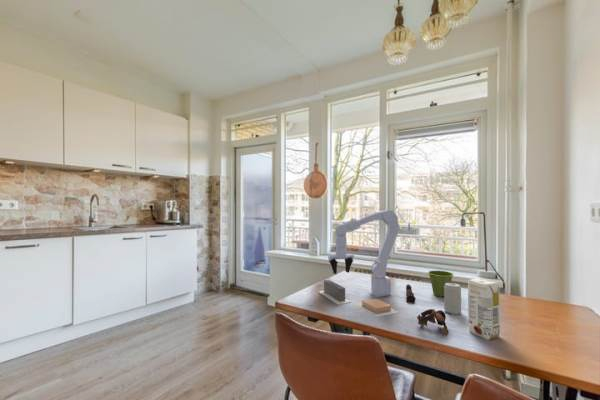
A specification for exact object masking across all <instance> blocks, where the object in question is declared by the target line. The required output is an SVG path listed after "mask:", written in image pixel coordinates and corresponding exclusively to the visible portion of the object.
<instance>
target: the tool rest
mask: <svg viewBox="0 0 600 400" xmlns="http://www.w3.org/2000/svg"><path fill="white" fill-rule="evenodd" d="M318 294H320V295H322V296H324V297H326V298H327V299H328V300H330V301H332V302H333V303H335V304H337V305H345V304H350V303H352V300H349V299H348V298H346V297H345V301H341V302H339V301H338V300H336V299H335V298H333V297H331V296H330V295H328V294H327V293H325V292H324V290H319V291H318Z"/></svg>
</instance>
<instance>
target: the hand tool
mask: <svg viewBox="0 0 600 400" xmlns="http://www.w3.org/2000/svg"><path fill="white" fill-rule="evenodd" d="M405 287H406V288H405V293H406V298H405V299H406V303H412V304H416V297H415V294H414V292H413V290H412V285H410V284H406V285H405Z"/></svg>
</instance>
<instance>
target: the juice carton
mask: <svg viewBox="0 0 600 400" xmlns="http://www.w3.org/2000/svg"><path fill="white" fill-rule="evenodd" d="M500 295H501V293H500V284H499V282H496V281H490V280H486V279H483V278H482V277H481V278H480V277H479V278H477V277H476V278H471V279H468V283H467V304H468V305H467V307H468V308H467V311H468V313H467V314H468V315H467V316H468V331H469V333H470V334H474V335H476V336H478V337H481V338H483V339H485V340H487V341H489V340H492V339H496V338H499V337H500V334H501V302H500V301H501V296H500Z"/></svg>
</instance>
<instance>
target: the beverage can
mask: <svg viewBox="0 0 600 400" xmlns="http://www.w3.org/2000/svg"><path fill="white" fill-rule="evenodd" d="M443 303H444V304H443V305H444V306H443V307H444V308H443V309H444V312H446V313H448V314H449V313H450V315H460V314H461V313H462V288H461V285H460V284H458V283H455V282H451V283H445V286H444V296H443Z"/></svg>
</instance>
